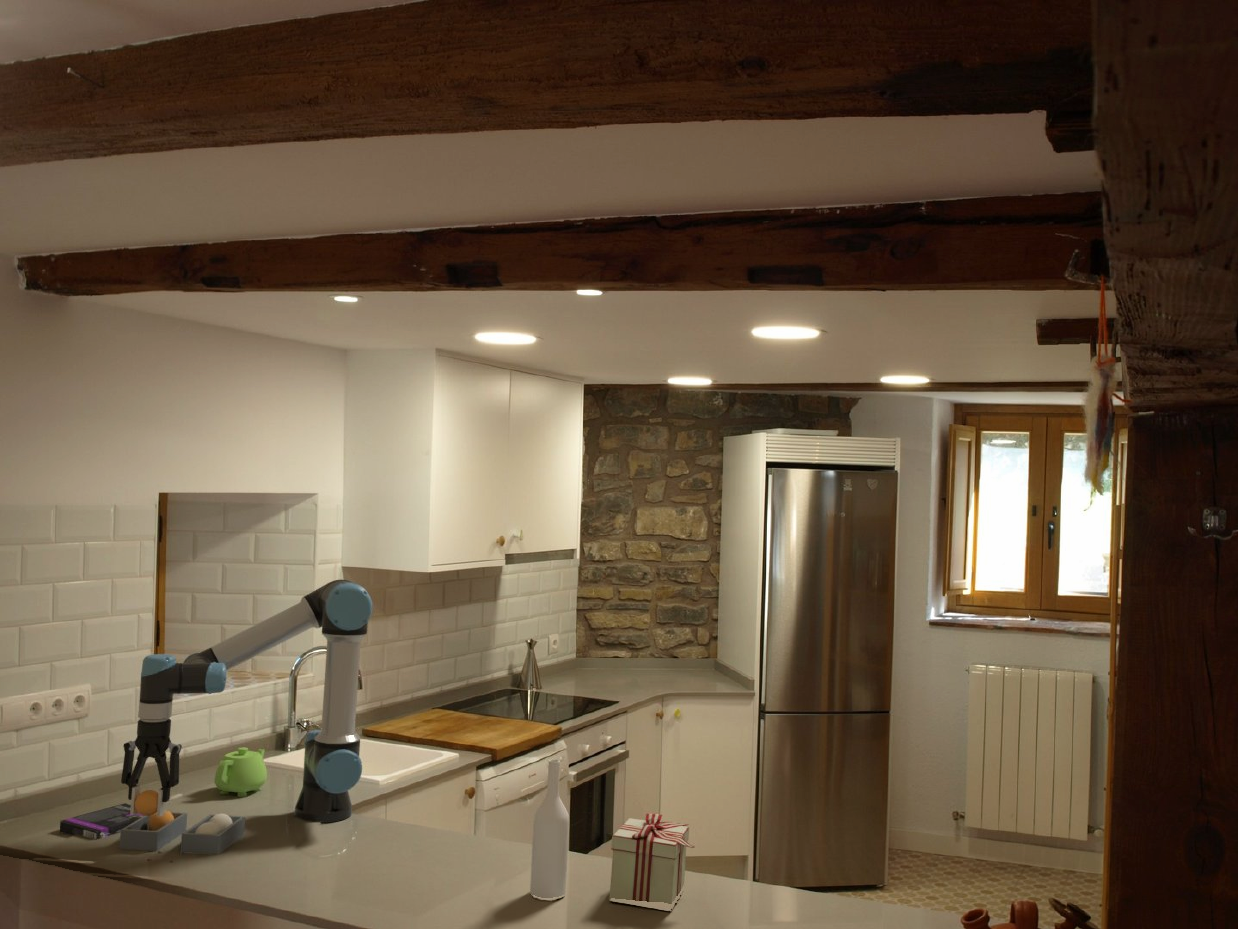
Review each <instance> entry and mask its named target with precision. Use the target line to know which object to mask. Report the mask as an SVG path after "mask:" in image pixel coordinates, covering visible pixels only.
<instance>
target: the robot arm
mask: <svg viewBox="0 0 1238 929" xmlns="http://www.w3.org/2000/svg"><path fill="white" fill-rule="evenodd" d="M372 613H373V601H372V598H371V596H370V594H369V593H368V591H367V589H365V588H364V587H363V586H361V585H360V584H358V583H355V582H352V581H350V580H346V579H335V580H332V581H329V582H327V583H326V584H324V585H322V586H321V587H319V588H316V589H315V590H313V591H311V592H310V593H308V594H306V595H303V596H302V597H301V599H300V601H299V602H298V603H296V604H294V605H292V606H290V607H289V608H286V609H284V610H283V611H280V612H278V613H276V614H275V615H272V616H271V617H268V618H266V619H264V620H262V621H261V622H258V623H257V624H255V625H252V626H250V627H248V628H246V629H245V630H243V631H241V632H238V633H237V634H234V635H233V636H231V637H228V638H227V639H225V640H223V641H221V642H219V643H217V644H215V645H212V646H211V647H209V648H207V649H203V650H202V651H201V652H194V653H191V654H190V655H188V656H187V657H186V658H185V659H184V660H183V663H182V662H177V661H176V659H177V658H176V656H175V655H173V654H169V653H168V654H165V653H157V654H149V655H147V656H145V657H144V659H143V660H142V666H141V673H140V683H139V684H140V688H139V689H140V690H139V701H138V702H139V703H138V713H137V717H138V721H137V726H136V729H137V730H136V735H137V737H136V738H135V740H133V741H132V740H130V741H127V742H125V743H124V744H123V751H124V756H123V757H124V758H123V763H122V764H123V766H122V773H121V780H120V783H121V784H122V785H127V786H128V794H127V796H128V797H127V799H128V800H129V801H130V805H131V811H130V815H134V814H136V813H138V812H137V810H136V808H135V801H136V798H137V797H138V795H139V794H140V793H141V787H142V785H141V784H139V783H140V778H141V776H142V774H143V770H144V767H145V764H146V762H147V760H148V759H149V758H152V759H154V761H155V763H156V767H157V771H158V776H159V779H160V783H161V787H160V788H159V789H158V806H157V817H160V816H162V815H164V814H165V810H166V805H167V802H169V801H170V799H171V798H170V797H171V788H173V787H175V786H177V785H179V783H180V752H181V750H182V748H183V746H182V744H181V743H179V744H176V743H173V742H172V741H171V737H170V736H171V731H172V730H171V729H172V728H171V727H172V720H171V719H170V718H172V715H173V700H174V698H173V697H174V695H180V694H182V695H185V694H187V695H188V694H189V695H190V694H191V695H193V694H197V695H198V694H208V695H211V694H219V693H222V692H224V691H225V689H226V685H227V684H226V682H227V671H229V670H231V669H233V668H235V667H237V666H239V665H241V664H243V663H245V662H247V661H249V660H252V659H253V658H255V657H257V656H259V655H260V654H263V653H265V652H266V651H269V650H271V649H273V648H274V647H277V646H279V645H280V644H282V643H284V642H286V641H288V640H291V639H293V638H294V637H297V636H298V635H301V634H302V633H304V632H306V631H308V630H311V629H312V628H314V629H320V628H321V635H322V636H323V637H325V639H326V654H325V669H324V670H325V672H324V684H323V685H324V686H323V702H322V713H321V714H322V715H321V728H320V729H315V730H310V731H308V732H307V733H306V734H305V741H304V757H303V776H302V778H303V779H302V788H301V791H300V793H299V796H298V797H297V798H298V799H297V801H296V803H295V807H294V813H293V814H294V817H295V818H296V819H300V820H302V821H303V820H304V821H307V822H308V821H309V822H320V823H321V824H323V823H324V824H325V823H334V822H338V821H343V820H346V819H348V818H349V817H351V816H352V814H353V813H352V812H353V805H352V801H351V798H350V797H351V796H350V795H349V790H351V789H352V788H354V787H355V786H356V784H358V783H359V781H360V779H361V776H362V775H363V764H362V763H363V762H362V759H361V757H360V751H361V750H360V748H361V736H360V735H359V734H358V733H357V732H356V718H357V707H358V706H357V704H358V703H357V701H358V691H359V690H358V689H359V671H360V656H361V642H362V640H363V639H364V638H365V637H366V636H367V634H368V626H369V624H368V623H369V621H370V619H371V616H372ZM136 748H137V750H138V751H139V753H138V755H137V758H136V760H137V761H136V763H135V766H134V758H135V750H136ZM168 749H169V750H168ZM167 750H168V751H169V753H170V755H169V767H168V763H167V752H166V751H167ZM133 766H134V768H133Z"/></svg>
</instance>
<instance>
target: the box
mask: <svg viewBox="0 0 1238 929" xmlns="http://www.w3.org/2000/svg"><path fill="white" fill-rule="evenodd" d="M130 811H131V804H128V803H126V802H125V803H120V804H116V805H114V806H109V807H106V808H103V809H99V810H94V811H91V812H88V813H84V814H80V815H77V816H73V817H69V818H65V819H60V821H59V833H61V832H63V834H64V835H65V834H66V835H69V834H70V836H75V835H78V836H82V837H87V838H89V839H94V840H99V839H102V838H107V837H110V836H113V835H116V834H119V833H121V829H123V828H125V827H126V826H128V825H130V824H131V823H133V822H135V821H136V820H138V819H140V818H141V817H143V816H144V815H141V814H139V813H136V814H134V815H130Z"/></svg>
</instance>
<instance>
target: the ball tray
mask: <svg viewBox="0 0 1238 929" xmlns="http://www.w3.org/2000/svg"><path fill="white" fill-rule="evenodd" d="M169 812H170V813H171V814H172V815H173V817H174V820H172V821H171V822H169V823H168V824H166V825H165V826H163V827H162V828H160V829H158V830H157V831H150V829H149V827H148V822H149V819H150V817H151V816H152V815H149V816H143V817H141V818H140V819H138V820H136V821H135V822H133V823H131V824H130V825H128V826H126V827H125V828H123V829H121V832H120V837H119V849H121V850H132V851H151V852H157V853H158V854H162V850H161V849H162V848H163V847H165V846H166V845H168V844H170V842H172V841H174V840H175V839H176V838H178V837H179V836H181V840H180V844H181V845H180V854H179V855H182V856H183V855H185V854H195V855H196V854H197V855H198V854H200V855H212V856H213V855H215V856H218V855H220V854H221V853H222V852H224V851H225V850H227V849H228V848H229V847H230V846H231V845H232V844H234V843H235V842H236V841H238V839H240V838H241V837H243V836H244V835H245V826H246V825H245V824H246V816H244V815H243V816H242V815H240V816H239V815H228V816H229V817H230V818H231V819H232V822H233V824H231V825H230V826H228V827H227V828H226V829H224V830H223V831H222V832H220V833H219V834H218V835H212V834H196V833H195V832H196V830H197V828H198V827H199V826H200V825H202V824H204V823H207V822H209V820H210V819H211V818H212V817H213V816H215V815H216V814H208V815H207V816H205V817H204V818H203V819H200V821H198V822H196V823H195V824H194V825H192V826H191V827H190V828H188V829H187V823H188V813H187V812H175V811H169ZM151 860H152V859H151V858H147V859H146V861H147V862H150V861H151ZM173 862H174V860H172V859H170V860H169V862H168V863H173Z"/></svg>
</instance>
